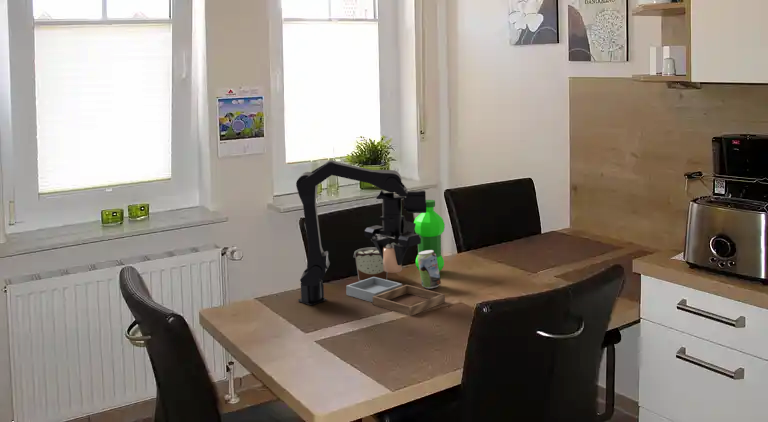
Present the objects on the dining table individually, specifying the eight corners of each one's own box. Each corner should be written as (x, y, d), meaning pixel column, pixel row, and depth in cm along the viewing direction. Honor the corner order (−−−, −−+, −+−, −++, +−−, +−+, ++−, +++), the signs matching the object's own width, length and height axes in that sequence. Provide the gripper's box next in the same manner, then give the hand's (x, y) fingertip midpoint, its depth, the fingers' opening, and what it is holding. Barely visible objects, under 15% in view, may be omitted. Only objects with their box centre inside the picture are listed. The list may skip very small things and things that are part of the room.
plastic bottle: (428, 279, 264) (427, 205, 259) (408, 272, 272) (407, 200, 267) (451, 273, 270) (450, 201, 264) (431, 267, 278) (429, 196, 273)
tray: (374, 302, 242) (374, 293, 241) (346, 294, 250) (346, 285, 250) (402, 292, 251) (402, 283, 250) (374, 285, 259) (373, 276, 258)
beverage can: (439, 290, 252) (439, 253, 249) (416, 289, 253) (415, 253, 251) (442, 284, 258) (441, 248, 255) (419, 283, 259) (418, 248, 257)
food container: (392, 275, 269) (392, 246, 267) (391, 281, 263) (390, 251, 261) (356, 275, 271) (355, 246, 269) (354, 280, 265) (353, 251, 263)
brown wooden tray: (410, 315, 230) (410, 307, 229) (372, 304, 240) (372, 296, 240) (444, 302, 241) (444, 294, 240) (406, 292, 251) (406, 284, 251)
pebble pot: (392, 273, 239) (392, 247, 237) (379, 269, 243) (379, 243, 241) (405, 269, 243) (405, 243, 241) (392, 266, 246) (392, 240, 245)
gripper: (433, 213, 238) (433, 263, 241) (388, 204, 251) (388, 252, 254) (407, 219, 230) (407, 271, 234) (362, 210, 243) (363, 259, 246)
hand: (392, 263), depth 242 cm, fingers closed on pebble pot, 6 cm apart
